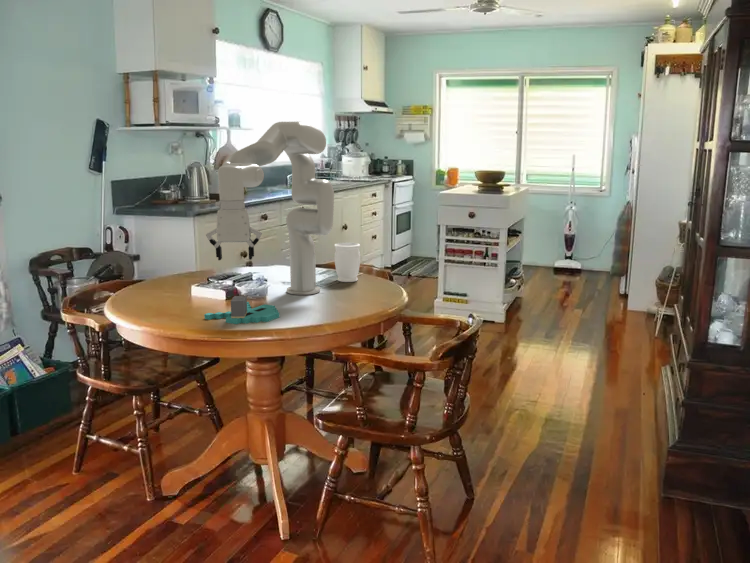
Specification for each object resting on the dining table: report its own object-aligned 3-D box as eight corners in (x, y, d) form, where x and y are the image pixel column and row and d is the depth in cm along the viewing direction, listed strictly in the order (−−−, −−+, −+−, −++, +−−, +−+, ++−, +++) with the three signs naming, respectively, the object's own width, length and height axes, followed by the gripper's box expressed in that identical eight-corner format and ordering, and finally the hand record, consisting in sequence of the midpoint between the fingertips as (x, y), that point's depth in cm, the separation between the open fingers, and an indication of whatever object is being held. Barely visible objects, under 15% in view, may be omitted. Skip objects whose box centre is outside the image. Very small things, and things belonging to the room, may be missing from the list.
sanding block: (234, 312, 222) (234, 296, 221) (247, 312, 222) (246, 296, 221) (231, 318, 215) (230, 301, 214) (244, 318, 215) (243, 301, 214)
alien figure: (204, 320, 220) (253, 329, 211) (204, 314, 220) (253, 322, 211) (244, 307, 238) (291, 314, 228) (244, 301, 237) (291, 308, 228)
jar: (365, 279, 281) (365, 243, 277) (350, 284, 272) (350, 247, 269) (344, 276, 286) (344, 241, 283) (329, 281, 278) (329, 244, 275)
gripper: (202, 207, 208) (205, 262, 212) (259, 206, 210) (261, 261, 213) (206, 204, 216) (209, 257, 220) (261, 203, 217) (264, 256, 221)
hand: (235, 259), depth 217 cm, fingers open, 9 cm apart
